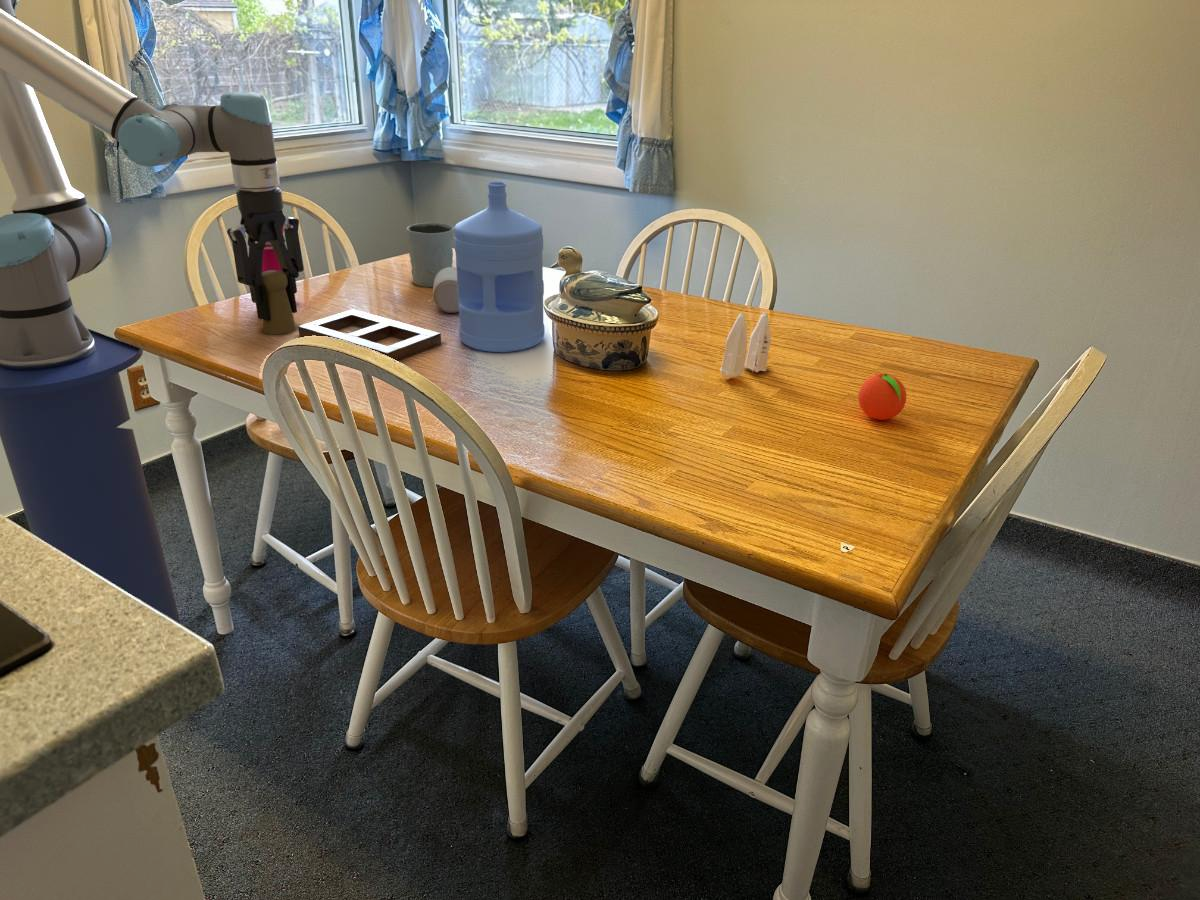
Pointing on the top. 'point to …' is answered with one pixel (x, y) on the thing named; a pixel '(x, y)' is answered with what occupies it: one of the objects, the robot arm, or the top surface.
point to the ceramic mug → (446, 290)
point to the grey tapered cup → (429, 251)
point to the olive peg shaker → (277, 303)
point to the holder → (374, 333)
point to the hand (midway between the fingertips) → (277, 314)
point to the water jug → (499, 277)
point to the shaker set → (738, 346)
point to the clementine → (882, 396)
